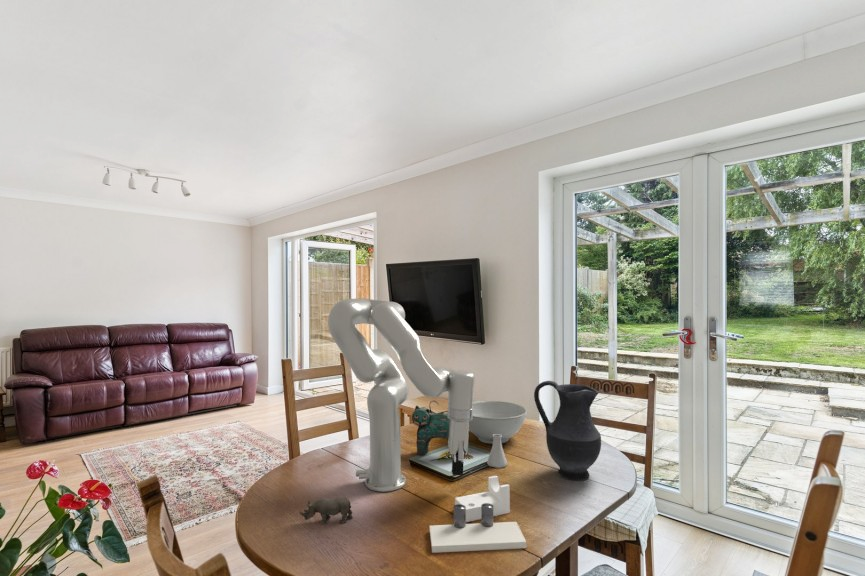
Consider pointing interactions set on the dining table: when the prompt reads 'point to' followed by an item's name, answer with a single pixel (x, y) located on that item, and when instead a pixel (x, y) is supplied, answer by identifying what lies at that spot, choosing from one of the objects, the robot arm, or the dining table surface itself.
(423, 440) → the cat figurine
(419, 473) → the dining table surface
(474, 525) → the board
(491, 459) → the flask
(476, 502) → the bracket
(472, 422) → the decorative bowl
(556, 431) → the pitcher
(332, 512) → the rhino figurine
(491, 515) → the peg
